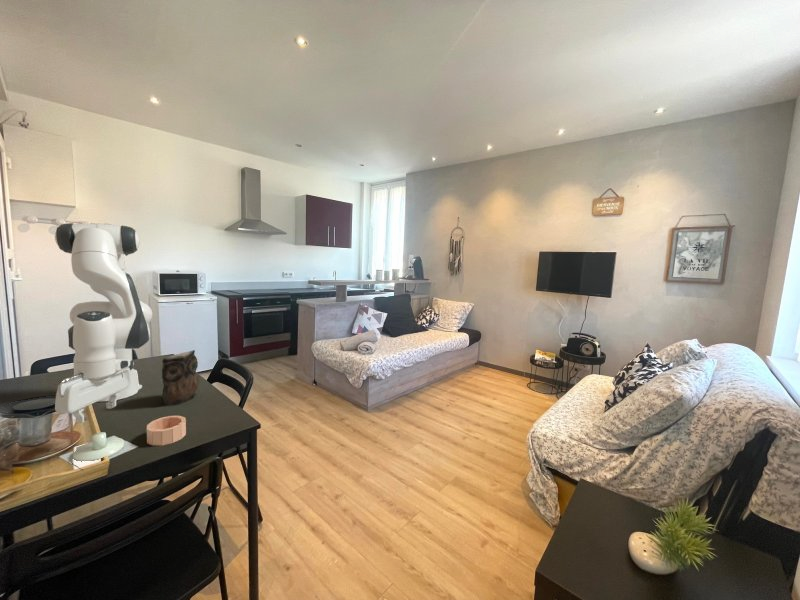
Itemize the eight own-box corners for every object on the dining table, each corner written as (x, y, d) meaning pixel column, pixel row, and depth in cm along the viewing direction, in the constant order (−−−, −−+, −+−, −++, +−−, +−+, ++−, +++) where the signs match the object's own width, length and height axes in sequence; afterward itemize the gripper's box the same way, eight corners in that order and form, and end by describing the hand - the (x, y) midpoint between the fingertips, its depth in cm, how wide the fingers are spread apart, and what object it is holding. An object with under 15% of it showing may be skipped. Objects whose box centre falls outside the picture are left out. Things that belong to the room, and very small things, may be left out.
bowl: (139, 440, 102) (139, 426, 101) (173, 426, 111) (172, 413, 111) (159, 449, 98) (159, 434, 98) (192, 434, 107) (192, 420, 107)
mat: (58, 457, 92) (58, 456, 91) (113, 436, 103) (113, 435, 103) (83, 471, 87) (83, 470, 86) (138, 447, 98) (138, 446, 98)
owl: (200, 392, 140) (199, 348, 138) (193, 405, 128) (193, 356, 126) (165, 395, 135) (164, 349, 133) (155, 408, 123) (154, 358, 121)
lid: (65, 455, 92) (64, 438, 91) (111, 437, 102) (110, 422, 101) (86, 467, 88) (85, 449, 87) (132, 447, 98) (131, 431, 97)
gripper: (71, 381, 82) (73, 433, 83) (134, 359, 102) (135, 400, 103) (45, 380, 82) (48, 432, 83) (114, 358, 102) (115, 400, 103)
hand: (97, 414), depth 93 cm, fingers open, 8 cm apart
